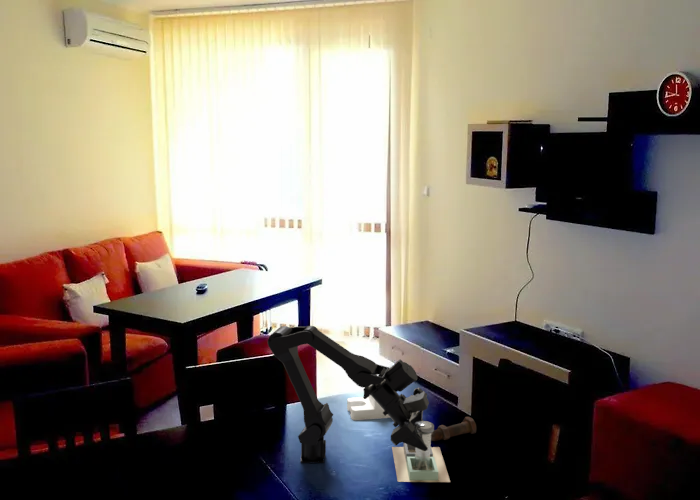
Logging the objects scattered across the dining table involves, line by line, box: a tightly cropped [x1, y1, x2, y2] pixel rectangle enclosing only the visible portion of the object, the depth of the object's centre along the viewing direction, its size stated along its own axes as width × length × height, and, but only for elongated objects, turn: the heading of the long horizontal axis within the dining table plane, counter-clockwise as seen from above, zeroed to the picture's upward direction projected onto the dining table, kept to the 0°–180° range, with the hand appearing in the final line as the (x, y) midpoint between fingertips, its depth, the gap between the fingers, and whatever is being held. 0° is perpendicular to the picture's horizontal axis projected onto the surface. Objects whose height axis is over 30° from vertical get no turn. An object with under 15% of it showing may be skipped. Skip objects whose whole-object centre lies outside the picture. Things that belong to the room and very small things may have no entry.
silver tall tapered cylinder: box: [414, 420, 435, 470], centre depth 170 cm, size 5×5×14 cm
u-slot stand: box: [346, 385, 391, 421], centre depth 207 cm, size 10×18×11 cm, turn 101°
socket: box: [406, 457, 438, 480], centre depth 171 cm, size 8×8×2 cm
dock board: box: [391, 446, 451, 483], centre depth 176 cm, size 14×18×1 cm
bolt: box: [431, 416, 477, 442], centre depth 192 cm, size 6×5×15 cm
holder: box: [402, 443, 433, 462], centre depth 180 cm, size 7×7×2 cm
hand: (428, 444), depth 169 cm, fingers open, 6 cm apart
